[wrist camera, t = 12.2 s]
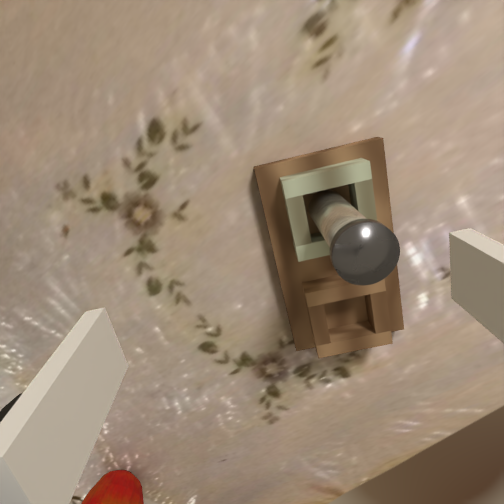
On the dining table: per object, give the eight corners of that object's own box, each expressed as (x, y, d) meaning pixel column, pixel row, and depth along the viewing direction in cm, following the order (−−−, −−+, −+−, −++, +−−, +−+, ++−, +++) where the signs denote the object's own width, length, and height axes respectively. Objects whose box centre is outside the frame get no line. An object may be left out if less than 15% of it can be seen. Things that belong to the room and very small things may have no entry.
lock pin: (308, 232, 43) (338, 291, 29) (300, 190, 42) (327, 231, 27) (351, 223, 43) (402, 277, 29) (345, 180, 41) (396, 215, 27)
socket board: (294, 342, 51) (299, 365, 46) (253, 166, 43) (254, 173, 38) (398, 320, 50) (413, 342, 45) (376, 136, 42) (393, 140, 37)
